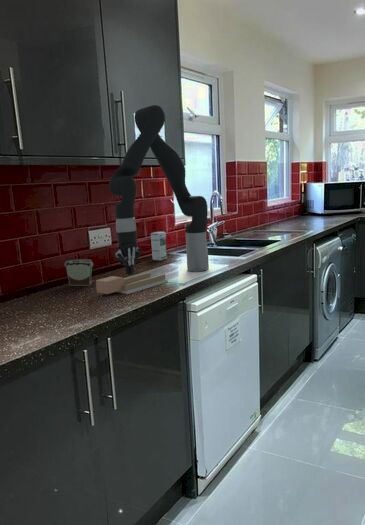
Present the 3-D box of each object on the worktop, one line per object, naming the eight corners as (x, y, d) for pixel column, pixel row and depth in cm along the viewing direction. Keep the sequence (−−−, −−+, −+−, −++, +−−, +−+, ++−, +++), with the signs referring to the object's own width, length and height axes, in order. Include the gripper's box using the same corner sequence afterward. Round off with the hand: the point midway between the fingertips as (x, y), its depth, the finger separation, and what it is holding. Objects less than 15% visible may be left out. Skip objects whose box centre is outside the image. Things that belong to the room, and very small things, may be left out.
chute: (146, 279, 184) (145, 272, 184) (167, 281, 177) (167, 274, 176) (106, 290, 168) (105, 282, 167) (127, 294, 160) (127, 286, 160)
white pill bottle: (160, 260, 227) (159, 232, 225) (152, 259, 231) (150, 232, 228) (167, 258, 232) (166, 231, 229) (159, 258, 235) (157, 231, 233)
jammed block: (113, 287, 166) (112, 276, 166) (124, 289, 163) (123, 277, 162) (96, 292, 160) (95, 280, 160) (107, 294, 157) (106, 281, 156)
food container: (100, 282, 183) (98, 258, 181) (93, 285, 177) (91, 261, 175) (73, 281, 186) (71, 258, 184) (66, 285, 180) (63, 261, 178)
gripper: (132, 227, 172) (135, 270, 176) (106, 231, 163) (110, 277, 166) (145, 228, 168) (149, 272, 171) (120, 232, 158) (124, 279, 161)
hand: (130, 274), depth 168 cm, fingers closed
